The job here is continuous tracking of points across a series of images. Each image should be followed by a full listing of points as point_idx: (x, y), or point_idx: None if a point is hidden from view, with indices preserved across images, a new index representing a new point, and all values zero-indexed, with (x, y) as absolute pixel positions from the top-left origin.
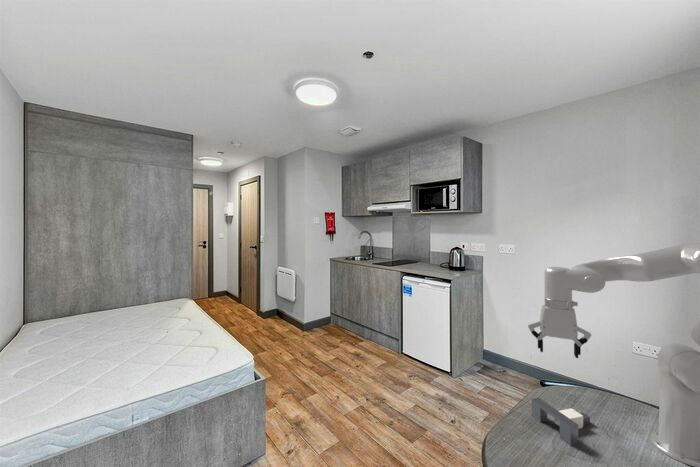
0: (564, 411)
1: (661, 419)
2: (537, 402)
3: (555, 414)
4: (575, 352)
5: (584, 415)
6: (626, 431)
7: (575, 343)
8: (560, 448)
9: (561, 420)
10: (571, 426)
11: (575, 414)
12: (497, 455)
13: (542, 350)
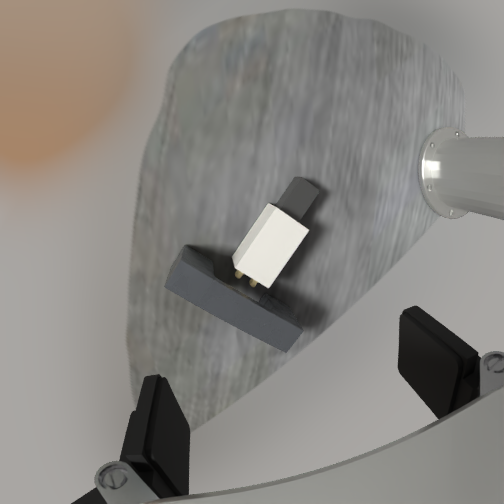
0: (259, 245)
1: (472, 188)
2: (185, 297)
3: (245, 326)
4: (417, 392)
5: (306, 193)
6: (382, 161)
7: (463, 403)
8: (256, 348)
9: (262, 340)
10: (287, 350)
11: (289, 238)
12: None
13: (186, 436)
